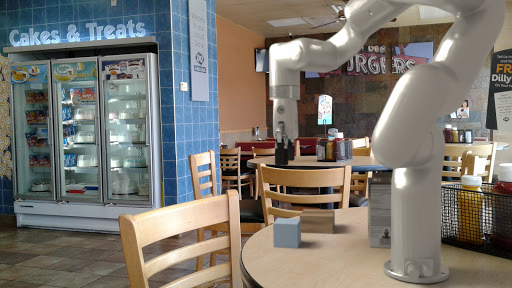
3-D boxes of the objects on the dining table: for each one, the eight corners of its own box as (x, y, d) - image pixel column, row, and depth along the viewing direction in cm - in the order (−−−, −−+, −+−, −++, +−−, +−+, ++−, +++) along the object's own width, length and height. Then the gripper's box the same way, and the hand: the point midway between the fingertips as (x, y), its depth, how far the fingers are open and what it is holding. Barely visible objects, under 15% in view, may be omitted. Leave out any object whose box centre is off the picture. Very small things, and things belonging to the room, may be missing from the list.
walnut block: (332, 234, 123) (332, 216, 123) (299, 233, 125) (299, 215, 125) (334, 226, 132) (334, 209, 131) (304, 225, 134) (303, 209, 133)
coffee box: (367, 237, 119) (367, 176, 118) (392, 238, 117) (392, 176, 116) (368, 247, 110) (368, 182, 109) (396, 248, 108) (396, 182, 107)
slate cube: (297, 248, 110) (297, 224, 110) (273, 247, 112) (273, 223, 112) (301, 241, 116) (300, 218, 116) (278, 240, 118) (277, 218, 117)
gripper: (294, 92, 102) (294, 167, 104) (304, 94, 119) (304, 159, 121) (262, 93, 104) (262, 166, 105) (276, 95, 121) (276, 158, 122)
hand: (285, 162), depth 113 cm, fingers open, 9 cm apart
